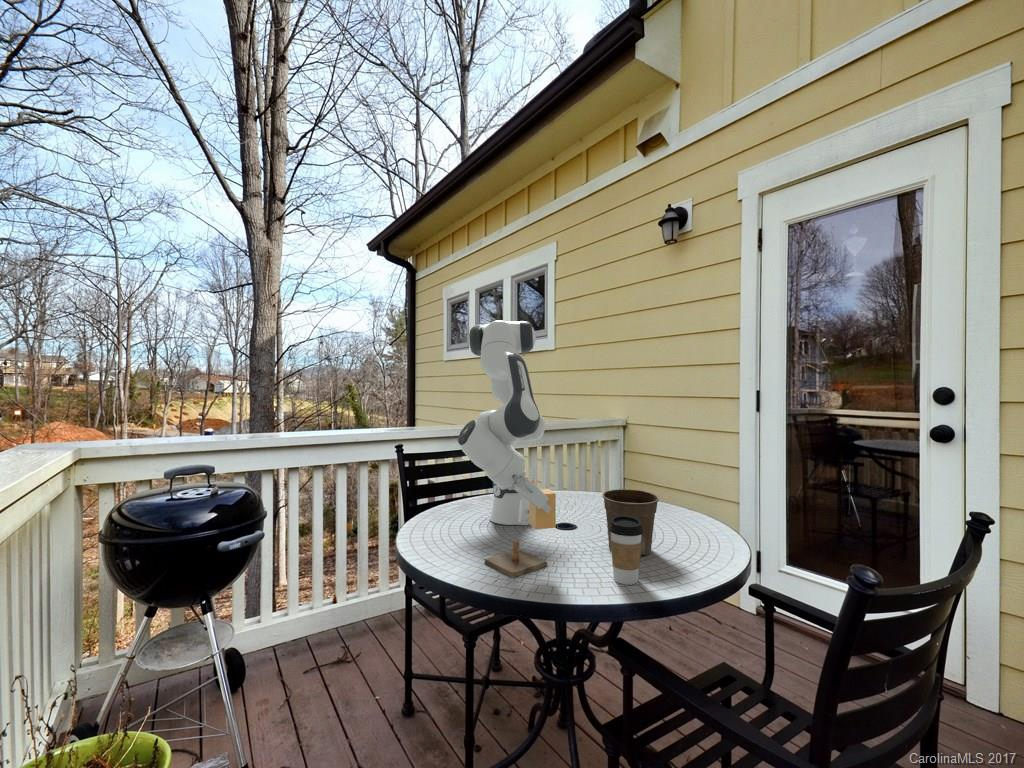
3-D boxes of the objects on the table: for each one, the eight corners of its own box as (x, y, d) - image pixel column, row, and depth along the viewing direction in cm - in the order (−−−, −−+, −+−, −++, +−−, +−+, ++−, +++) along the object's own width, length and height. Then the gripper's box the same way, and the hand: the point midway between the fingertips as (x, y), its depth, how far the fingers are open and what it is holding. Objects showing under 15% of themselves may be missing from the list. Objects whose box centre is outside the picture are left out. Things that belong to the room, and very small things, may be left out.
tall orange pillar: (528, 523, 128) (528, 489, 128) (548, 521, 130) (548, 488, 130) (535, 529, 123) (535, 494, 123) (555, 527, 125) (555, 493, 124)
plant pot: (661, 562, 131) (662, 504, 131) (601, 558, 134) (601, 501, 134) (656, 542, 147) (656, 490, 147) (602, 539, 150) (602, 487, 150)
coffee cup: (637, 572, 124) (637, 515, 124) (647, 587, 116) (648, 525, 116) (605, 573, 124) (605, 515, 124) (613, 587, 116) (613, 525, 115)
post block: (518, 553, 138) (518, 531, 138) (547, 565, 129) (547, 542, 129) (484, 563, 130) (484, 540, 130) (512, 577, 121) (512, 553, 121)
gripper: (529, 470, 114) (567, 508, 117) (506, 456, 134) (539, 489, 137) (511, 490, 113) (550, 528, 116) (490, 473, 133) (524, 505, 136)
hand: (544, 506), depth 127 cm, fingers closed on tall orange pillar, 5 cm apart
